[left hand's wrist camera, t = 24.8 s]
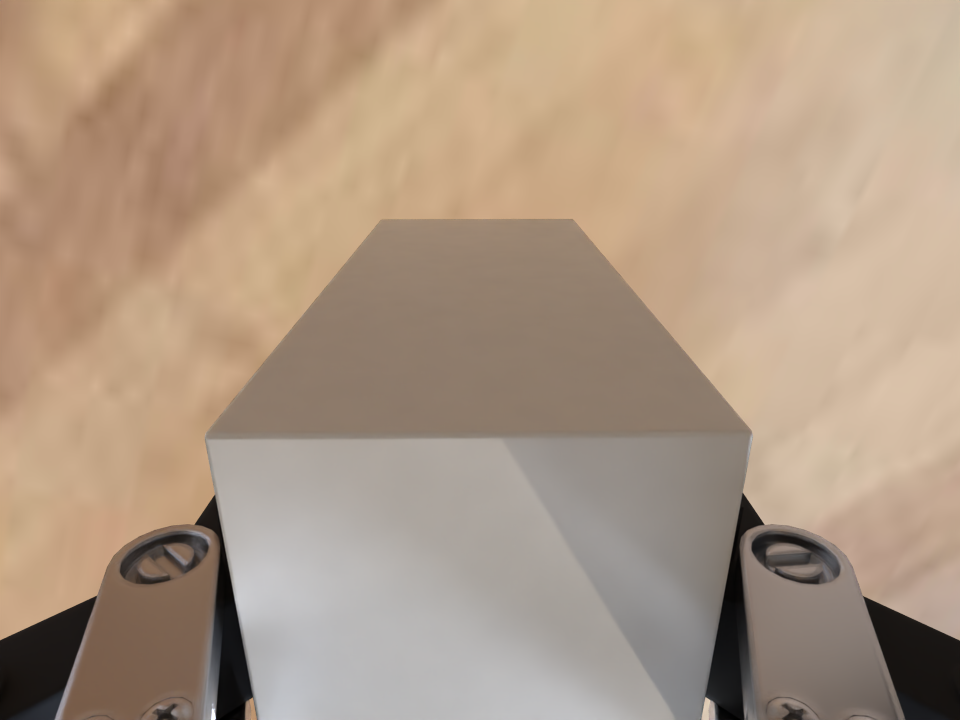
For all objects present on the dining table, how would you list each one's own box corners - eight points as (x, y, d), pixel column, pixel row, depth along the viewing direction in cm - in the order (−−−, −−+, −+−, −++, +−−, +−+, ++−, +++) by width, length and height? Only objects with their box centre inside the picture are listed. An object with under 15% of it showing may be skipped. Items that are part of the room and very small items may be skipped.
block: (380, 219, 17) (200, 433, 6) (573, 218, 17) (755, 432, 6) (393, 443, 19) (286, 887, 8) (561, 443, 20) (673, 884, 8)
